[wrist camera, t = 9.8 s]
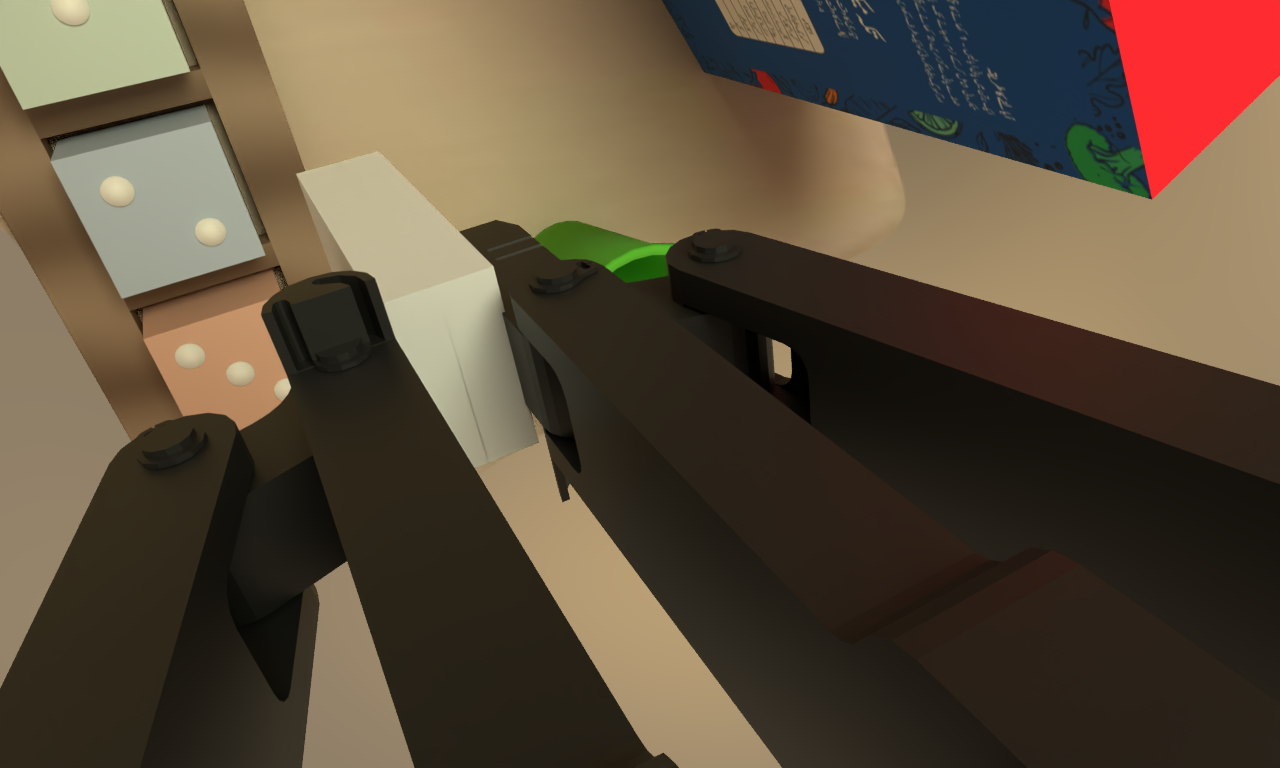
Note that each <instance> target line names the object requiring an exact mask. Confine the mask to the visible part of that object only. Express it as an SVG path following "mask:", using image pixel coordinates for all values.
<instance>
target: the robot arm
mask: <svg viewBox="0 0 1280 768" xmlns="http://www.w3.org/2000/svg"><path fill="white" fill-rule="evenodd" d="M296 175H297V178H298V181H299V184H300V186H301V189H302V192H303V194H304V197H305V200H306V203H307V205H308V208H309V211H310V213H311V216H312V219H313V221H314V224H315V227H316V230H317V232H318V235H319V238H320V240H321V243H322V246H323V249H324V251H325V254H326V257H327V259H328V262H329V265H330V268H331V270H332V272H330V273H326V274H322V275H318V276H313V277H310V278H307V279H305V280H302V281H299V282H297V283H294V284H292V285H289V286H288V287H286V288H284V289H283V290H281V291H279V292H278V293H276V294H274V295H273V296H272V297H271V298H270V299H269V300H268V301H267V302H266V303H265V304H264V305H263V307H262V312H261V317H262V319H263V321H264V324H265V326H266V328H267V331H268V333H269V335H270V337H271V340H272V342H273V344H274V347H275V349H276V351H277V354H278V356H279V358H280V361H281V363H282V365H283V368H284V370H285V372H286V375H287V377H288V380H289V383H290V386H291V389H290V391H289V393H288V395H287V396H286V397H285V399H284V400H283V401H282V402H281V403H280V404H279V405H278V406H277V407H276V408H275V409H273V410H272V411H271V412H270V413H269V414H267V415H265V416H264V417H262V418H261V419H259V420H257V421H256V422H254V423H253V424H251V425H249V426H247V427H245V428H243V429H241V430H240V431H239V429H238V427H237V425H236V423H235V421H233V420H232V419H230V418H229V417H228V416H226V415H223V414H215V413H202V414H195V415H189V416H184V417H181V418H178V419H175V420H166V421H164V422H161V423H159V424H157V425H154V426H155V428H152V427H150V428H149V429H147V430H145V431H143V432H142V433H140V434H139V435H138V437H136V438H135V439H134V440H132V441H131V442H130V443H129V444H127V445H126V446H125V447H123V448H122V449H121V450H120V451H119V452H118V453H117V455H116V456H115V457H114V459H113V460H112V461H111V463H110V464H109V466H108V468H107V470H106V472H105V474H104V476H103V478H102V480H101V482H100V484H99V486H98V488H97V490H96V492H95V494H94V496H93V498H92V501H91V503H90V505H89V507H88V509H87V511H86V513H85V515H84V517H83V519H82V521H81V523H80V525H79V528H78V529H77V532H76V534H75V536H74V538H73V540H72V542H71V544H70V546H69V548H68V550H67V552H66V554H65V556H64V558H63V560H62V562H61V564H60V567H59V569H58V571H57V573H56V575H55V577H54V579H53V581H52V583H51V585H50V587H49V589H48V591H47V593H46V595H45V597H44V600H43V602H42V604H41V606H40V608H39V610H38V612H37V614H36V616H35V618H34V620H33V623H32V624H31V626H30V629H29V630H28V633H27V635H26V637H25V639H24V641H23V643H22V645H21V647H20V649H19V651H18V653H17V655H16V657H15V659H14V661H13V664H12V666H11V668H10V670H9V672H8V674H7V676H6V678H5V680H4V682H3V684H2V686H1V688H0V768H302V761H303V752H304V743H305V742H304V741H305V733H306V724H307V714H308V705H309V696H310V687H311V677H312V668H313V658H314V649H315V640H316V631H317V621H318V611H319V599H318V594H317V590H316V588H315V586H314V583H315V582H317V581H318V580H320V579H321V578H323V577H324V576H326V575H327V574H328V573H330V572H332V571H333V570H334V569H336V568H337V567H339V566H340V565H342V564H343V563H345V562H346V561H347V562H348V565H349V568H350V571H351V574H352V577H353V580H354V583H355V586H356V589H357V592H358V595H359V598H360V601H361V604H362V608H363V611H364V614H365V617H366V620H367V623H368V626H369V629H370V632H371V635H372V638H373V641H374V644H375V648H376V651H377V654H378V657H379V659H380V663H381V666H382V669H383V672H384V675H385V678H386V681H387V684H388V687H389V691H390V694H391V697H392V700H393V703H394V706H395V709H396V712H397V715H398V718H399V721H400V724H401V727H402V730H403V733H404V736H405V740H406V743H407V745H408V749H409V752H410V755H411V758H412V761H413V764H414V767H415V768H678V766H677V765H676V764H675V763H674V762H673V761H672V760H671V759H670V758H669V757H668V756H667V755H665V754H664V753H662V754H660V755H658V756H655V757H654V756H652V754H651V753H649V752H648V751H647V749H646V748H645V747H644V745H643V744H642V742H641V740H640V739H639V737H638V736H637V734H636V733H635V731H634V730H633V728H632V726H631V724H630V723H629V721H628V720H627V718H626V716H625V715H624V713H623V711H622V710H621V708H620V706H619V705H618V703H617V701H616V700H615V698H614V696H613V695H612V694H611V692H610V690H609V688H608V687H607V685H606V683H605V682H604V680H603V679H602V677H601V675H600V673H599V672H598V670H597V669H596V667H595V665H594V664H593V662H592V660H591V659H590V657H589V655H588V654H587V652H586V650H585V649H584V647H583V646H582V644H581V642H580V641H579V639H578V637H577V636H576V634H575V632H574V631H573V629H572V627H571V626H570V624H569V623H568V621H567V619H566V618H565V616H564V614H563V613H562V611H561V609H560V608H559V606H558V604H557V603H556V601H555V600H554V598H553V596H552V595H551V593H550V591H549V590H548V588H547V586H546V585H545V583H544V581H543V580H542V578H541V577H540V575H539V573H538V572H537V570H536V569H535V567H534V565H533V563H532V562H531V560H530V558H529V557H528V555H527V554H526V552H525V550H524V549H523V547H522V545H521V544H520V542H519V540H518V539H517V537H516V535H515V534H514V532H513V531H512V529H511V527H510V526H509V524H508V522H507V521H506V519H505V517H504V516H503V514H502V512H501V511H500V509H499V508H498V506H497V504H496V503H495V501H494V499H493V498H492V496H491V494H490V493H489V491H488V490H487V488H486V486H485V485H484V483H483V481H482V480H481V478H480V476H479V475H478V473H477V471H476V470H475V468H478V467H480V466H483V465H485V464H488V463H490V462H492V461H495V460H497V459H500V458H502V457H505V456H507V455H510V454H512V453H514V452H517V451H519V450H522V449H524V448H527V447H529V446H531V445H534V444H536V443H538V442H539V441H538V438H537V434H536V430H535V426H534V422H533V418H532V414H531V412H532V413H533V414H534V415H535V417H536V418H537V419H538V420H539V422H540V423H541V424H542V426H543V429H544V433H545V437H546V441H547V445H548V449H549V453H550V457H551V461H552V465H553V469H554V473H555V477H556V481H557V485H558V488H559V492H560V496H561V499H562V502H564V501H567V500H569V499H570V497H569V493H568V489H567V488H568V486H569V484H571V485H572V487H573V488H574V489H575V491H576V492H577V493H578V495H579V496H580V497H581V499H582V500H583V501H584V503H585V504H586V505H587V507H588V508H589V509H590V511H591V512H592V513H593V515H594V516H595V517H596V519H597V520H598V521H599V523H600V524H601V525H602V527H603V528H604V529H605V531H606V532H607V534H608V535H609V536H610V537H611V539H612V540H613V542H614V543H615V544H616V546H617V547H618V548H619V550H620V551H621V552H622V554H623V555H624V556H625V558H626V559H627V560H628V562H629V563H630V564H631V565H632V567H633V568H634V570H635V571H636V572H637V574H638V575H639V576H640V578H641V579H642V580H643V582H644V583H645V584H646V586H647V587H648V588H649V590H650V591H651V592H652V594H653V595H654V596H655V598H656V599H657V601H658V602H659V603H660V605H661V606H662V607H663V609H664V610H665V611H666V613H667V614H668V615H669V616H670V618H671V619H672V621H673V622H674V623H675V625H676V626H677V627H678V629H679V630H680V631H681V633H682V634H683V635H684V637H685V638H686V639H687V641H688V642H689V643H690V645H691V646H692V647H693V649H694V650H695V651H696V653H697V654H698V655H699V657H700V658H701V659H702V661H703V662H704V663H705V665H706V666H707V667H708V669H709V670H710V672H711V673H712V674H713V675H714V677H715V678H716V679H717V681H718V682H719V684H720V685H721V686H722V688H723V689H724V690H725V691H726V693H727V694H728V696H729V697H730V698H731V700H732V701H733V702H734V704H735V705H736V706H737V708H738V709H739V710H740V712H741V713H742V714H743V716H744V717H745V718H746V720H747V721H748V722H749V724H750V725H751V726H752V728H753V729H754V730H755V732H756V733H757V734H758V736H759V737H760V738H761V740H762V741H763V742H764V744H765V745H766V746H767V748H768V749H769V750H770V752H771V753H772V754H773V756H774V757H775V759H776V760H777V761H778V763H779V764H780V765H781V767H782V768H1280V386H1278V385H1275V384H1271V383H1268V382H1264V381H1261V380H1257V379H1254V378H1251V377H1247V376H1244V375H1240V374H1237V373H1233V372H1230V371H1226V370H1223V369H1220V368H1216V367H1213V366H1209V365H1206V364H1202V363H1199V362H1195V361H1192V360H1188V359H1185V358H1182V357H1178V356H1174V355H1171V354H1168V353H1164V352H1161V351H1157V350H1153V349H1150V348H1147V347H1143V346H1140V345H1137V344H1133V343H1130V342H1126V341H1123V340H1119V339H1116V338H1112V337H1109V336H1105V335H1102V334H1098V333H1095V332H1092V331H1088V330H1085V329H1081V328H1078V327H1074V326H1071V325H1067V324H1064V323H1060V322H1057V321H1053V320H1050V319H1046V318H1043V317H1039V316H1036V315H1033V314H1029V313H1026V312H1022V311H1019V310H1015V309H1012V308H1008V307H1005V306H1002V305H998V304H995V303H991V302H988V301H984V300H981V299H977V298H974V297H970V296H967V295H963V294H960V293H957V292H953V291H950V290H946V289H943V288H939V287H935V286H932V285H929V284H925V283H922V282H918V281H915V280H912V279H908V278H904V277H901V276H898V275H894V274H891V273H887V272H884V271H880V270H877V269H873V268H870V267H866V266H863V265H860V264H856V263H853V262H849V261H846V260H842V259H839V258H835V257H832V256H829V255H825V254H822V253H818V252H815V251H811V250H808V249H804V248H801V247H797V246H794V245H790V244H787V243H784V242H780V241H777V240H773V239H770V238H766V237H763V236H759V235H756V234H752V233H748V232H742V231H736V230H720V229H710V230H707V232H705V231H700V232H696V233H694V234H693V235H692V236H690V237H687V238H684V239H682V240H680V241H678V242H677V243H675V244H674V245H673V246H671V247H670V248H669V250H668V252H667V253H666V255H665V258H666V265H667V272H668V276H664V277H659V278H653V279H648V280H642V281H636V282H629V283H626V282H624V281H623V280H622V279H620V278H619V277H618V276H616V275H615V274H614V273H613V272H611V271H610V270H609V269H607V268H606V267H605V266H603V265H601V264H599V263H597V262H594V261H592V260H587V259H569V260H560V259H559V258H557V257H556V256H555V255H554V254H553V253H551V252H550V251H549V250H548V249H547V248H545V247H544V246H541V243H539V242H538V241H537V240H536V239H534V238H532V237H531V235H530V234H528V233H527V232H526V231H525V230H524V229H522V228H521V227H520V226H519V225H515V224H511V223H506V222H502V221H498V220H495V221H492V222H488V223H485V224H482V225H479V226H476V227H473V228H469V229H466V230H463V231H460V232H459V231H458V230H457V229H456V228H455V227H454V226H453V225H452V224H451V223H450V222H449V221H448V220H447V219H446V218H445V217H444V216H443V215H442V214H441V213H440V212H439V211H438V210H437V209H436V208H435V207H434V206H433V205H432V204H431V203H430V202H429V201H428V200H427V199H426V198H425V197H424V196H423V195H422V194H421V193H420V192H419V191H418V190H417V189H416V188H415V187H414V186H413V185H412V184H411V183H410V182H409V181H408V180H407V179H406V178H405V177H404V176H403V175H402V174H401V173H400V172H399V171H398V170H397V169H396V168H395V167H394V166H393V165H392V164H391V163H390V162H389V161H388V160H387V159H386V158H385V157H384V156H383V155H382V154H381V153H380V152H379V151H377V152H373V153H370V154H366V155H362V156H359V157H355V158H352V159H348V160H344V161H341V162H337V163H333V164H330V165H326V166H322V167H319V168H315V169H312V170H308V171H304V172H301V173H297V174H296ZM772 339H773V340H776V341H778V342H781V343H783V344H785V345H787V346H788V347H790V348H791V362H792V375H791V378H787V377H783V376H781V375H779V374H777V373H774V360H773V346H772Z"/></svg>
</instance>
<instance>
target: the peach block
mask: <svg viewBox="0 0 1280 768" xmlns="http://www.w3.org/2000/svg"><path fill="white" fill-rule="evenodd" d="M279 291H281V289H280V286H279V284H278V282H277V279H276V277H275V274H274V272H273V269H272V268H268V269H265V270H262V271H259V272H255V273H252V274H249V275H246V276H242V277H239V278H236V279H233V280H229V281H226V282H223V283H220V284H216V285H213V286H210V287H207V288H203V289H200V290H197V291H194V292H190V293H187V294H184V295H180V296H177V297H174V298H171V299H167V300H164V301H161V302H158V303H154V304H151V305H148V306H145V307H143V340H144V342H145V344H146V346H147V348H148V350H149V352H150V354H151V355H152V357H153V359H154V361H155V363H156V365H157V367H158V369H159V371H160V373H161V375H162V376H163V378H164V380H165V382H166V384H167V386H168V388H169V390H170V392H171V394H172V396H173V397H174V399H175V401H176V403H177V405H178V407H179V409H180V411H181V413H182V415H183V417H184V416H189V415H195V414H202V413H215V414H223V415H226V416H228V417H229V418H230V419H232V420H233V421H235V423H236V425H237V427H238V429H239V431H240V430H241V429H243V428H245V427H247V426H249V425H251V424H253V423H254V422H256V421H257V420H259V419H261V418H262V417H264V416H265V415H267V414H269V413H270V412H271V411H272V410H273V409H275V408H276V407H277V406H278V405H279V404H280V403H281V402H282V401H283V400H284V399H285V397H286V396H287V395H288V393H289V391H290V389H291V386H290V383H289V380H288V377H287V375H286V372H285V370H284V368H283V365H282V363H281V361H280V358H279V356H278V354H277V351H276V349H275V347H274V344H273V342H272V340H271V337H270V335H269V333H268V331H267V328H266V326H265V324H264V321H263V319H262V317H261V312H262V307H263V305H264V304H265V303H266V302H267V301H268V300H269V299H270V298H271V297H272V296H273V295H274V294H276V293H278V292H279Z"/></svg>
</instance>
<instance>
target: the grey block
mask: <svg viewBox="0 0 1280 768" xmlns="http://www.w3.org/2000/svg"><path fill="white" fill-rule="evenodd" d="M50 162H51V164H52V166H53V168H54V170H55V172H56V174H57V176H58V178H59V179H60V181H61V183H62V185H63V187H64V189H65V191H66V193H67V195H68V197H69V199H70V200H71V202H72V204H73V206H74V208H75V210H76V212H77V214H78V216H79V218H80V220H81V222H82V223H83V225H84V227H85V229H86V231H87V233H88V235H89V237H90V239H91V241H92V243H93V244H94V246H95V248H96V250H97V252H98V254H99V256H100V258H101V260H102V262H103V264H104V265H105V267H106V269H107V271H108V273H109V275H110V277H111V279H112V281H113V283H114V285H115V287H116V288H117V290H118V292H119V294H120V296H121V298H122V299H123V298H126V297H129V296H133V295H136V294H139V293H142V292H146V291H149V290H152V289H156V288H159V287H162V286H166V285H169V284H172V283H176V282H179V281H182V280H186V279H189V278H192V277H195V276H199V275H202V274H205V273H209V272H212V271H215V270H219V269H222V268H225V267H229V266H232V265H235V264H239V263H242V262H245V261H248V260H252V259H255V258H258V257H262V256H265V252H264V249H263V247H262V244H261V241H260V239H259V236H258V233H257V230H256V228H255V225H254V223H253V221H252V218H251V216H250V213H249V211H248V208H247V206H246V203H245V201H244V199H243V196H242V194H241V191H240V189H239V186H238V184H237V181H236V179H235V177H234V174H233V172H232V169H231V167H230V164H229V162H228V159H227V157H226V155H225V152H224V150H223V147H222V145H221V142H220V140H219V137H218V135H217V133H216V130H215V128H214V125H213V123H212V120H211V118H210V115H209V113H208V111H207V108H206V106H205V105H201V106H197V107H193V108H189V109H184V110H180V111H176V112H172V113H168V114H164V115H160V116H156V117H152V118H147V119H143V120H139V121H135V122H131V123H127V124H123V125H119V126H114V127H110V128H106V129H102V130H98V131H94V132H90V133H86V134H81V135H77V136H73V137H69V138H65V139H61V140H58V141H57V144H56V147H55V149H54V152H53V155H52V158H51V161H50Z"/></svg>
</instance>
